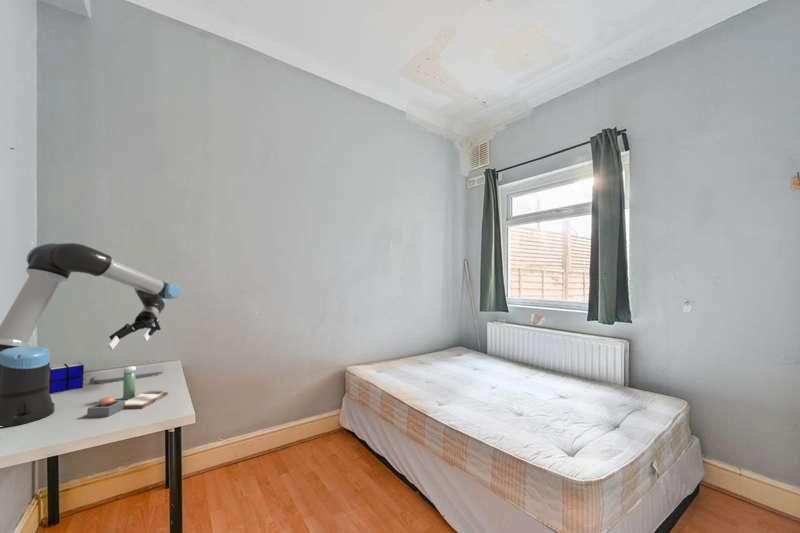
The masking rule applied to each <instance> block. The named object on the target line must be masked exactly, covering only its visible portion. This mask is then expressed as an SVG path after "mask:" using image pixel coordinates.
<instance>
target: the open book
mask: <svg viewBox="0 0 800 533" xmlns="http://www.w3.org/2000/svg"><path fill="white" fill-rule="evenodd" d="M167 394H168V395H169V392H167V391H166V392H164V391H163V390H146V391H144V392H141V393H139V394H137V395H135V397H133V398H131V399H129V400H125V406H124V409H123V410H131V409H130V408H143V409H144V408H147V407H148V406H150V405H152V404H154V403H156V402H157V401H159V400H161V399H163V398H165V397H166V395H167ZM168 395H167V396H168ZM164 396H165V397H164ZM162 397H163V398H162ZM160 398H161V399H160ZM158 399H159V400H158ZM156 400H157V401H156ZM155 401H156V402H155ZM153 402H154V403H153ZM151 403H152V404H151ZM149 404H150V405H149ZM147 405H148V406H147Z"/></svg>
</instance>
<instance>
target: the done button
mask: <svg viewBox="0 0 800 533" xmlns="http://www.w3.org/2000/svg"><path fill="white" fill-rule="evenodd" d="M115 400H116V397H115V396H108V397H103V398H101V399H99V400H98V401H99V402H98V403H99V405H109V404H112V403H114V402H115Z"/></svg>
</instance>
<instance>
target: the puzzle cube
mask: <svg viewBox="0 0 800 533" xmlns="http://www.w3.org/2000/svg"><path fill="white" fill-rule="evenodd" d="M84 368H85V365H84V364H83V363H82V362H81V361H74V362H67V363H58V364H53V365H50V366H49V384H48V391H49V394H50V395H52V394H56V393H57V394H58V393H62V392H66V391H72V390H77V389H78V390H79V389H83V388H84V372H85V371H84V370H85V369H84Z"/></svg>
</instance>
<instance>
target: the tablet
mask: <svg viewBox="0 0 800 533" xmlns="http://www.w3.org/2000/svg"><path fill="white" fill-rule="evenodd" d="M164 372H165V367H164V364H153V365H144V366H138V367H137V366H136V377H135V379H140V378H139V377H141V378H146V377H145V376H148V377H153V376H152V375H155V376H159V375H158V374H160V375H162V374H164ZM119 380H122V381H124V368H123V369H115V370H107V371H102V372H98V373H95V375H94V377H93V382H95V385H101V383H102V384H107V382H108V383H114V382H113V381H115V382H120V381H119Z"/></svg>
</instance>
